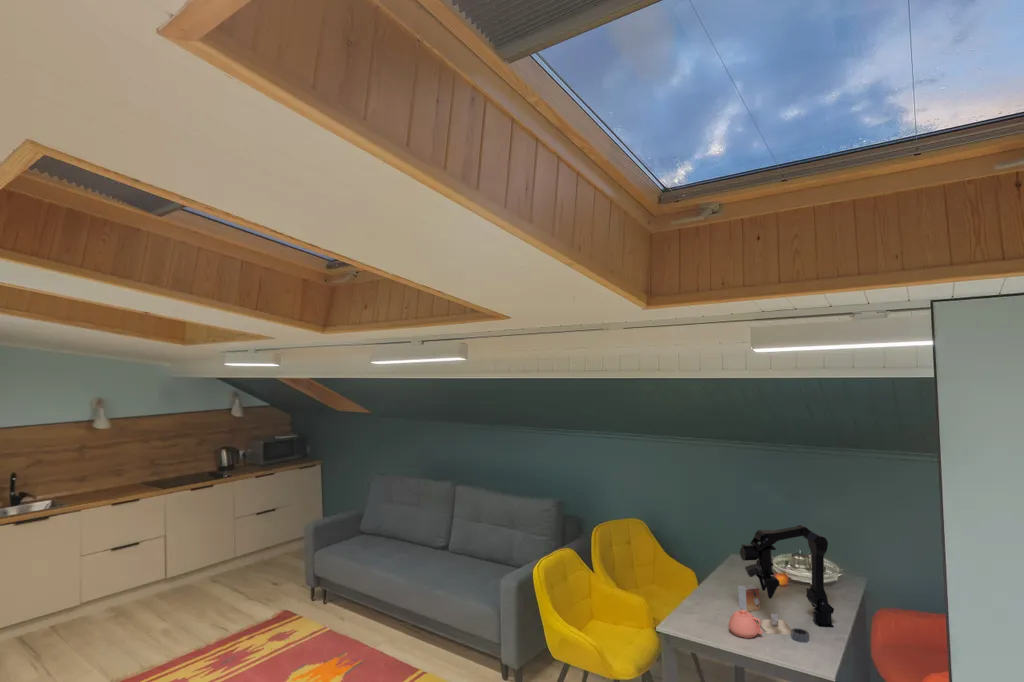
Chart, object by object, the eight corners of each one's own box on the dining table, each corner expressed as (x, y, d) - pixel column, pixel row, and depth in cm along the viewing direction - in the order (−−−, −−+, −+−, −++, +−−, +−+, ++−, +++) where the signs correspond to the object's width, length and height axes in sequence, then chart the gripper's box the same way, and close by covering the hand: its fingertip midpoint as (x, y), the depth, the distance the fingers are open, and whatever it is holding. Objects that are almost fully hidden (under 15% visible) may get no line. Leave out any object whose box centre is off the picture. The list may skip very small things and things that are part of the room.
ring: (805, 635, 240) (804, 628, 240) (811, 642, 234) (810, 635, 234) (789, 635, 241) (789, 628, 241) (795, 642, 234) (795, 634, 235)
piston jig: (783, 622, 253) (783, 608, 254) (794, 634, 241) (793, 620, 242) (756, 621, 254) (756, 608, 255) (765, 633, 243) (764, 619, 243)
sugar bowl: (734, 625, 251) (733, 602, 252) (766, 634, 242) (765, 610, 243) (725, 635, 242) (724, 611, 242) (758, 644, 233) (757, 619, 233)
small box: (746, 612, 264) (745, 589, 265) (738, 607, 270) (737, 585, 271) (760, 610, 267) (759, 587, 267) (752, 605, 272) (751, 583, 273)
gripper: (740, 552, 263) (742, 586, 262) (752, 566, 244) (754, 602, 243) (765, 553, 261) (767, 586, 260) (778, 566, 243) (781, 603, 242)
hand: (766, 594), depth 251 cm, fingers open, 9 cm apart
